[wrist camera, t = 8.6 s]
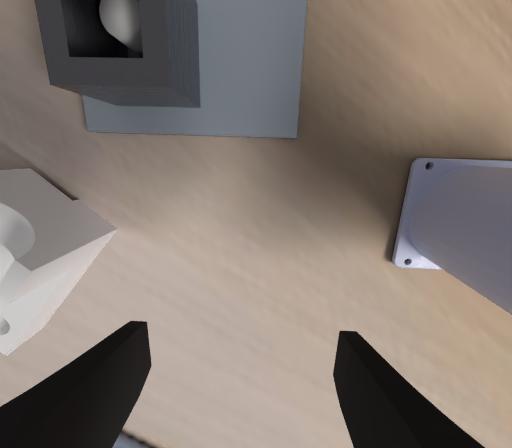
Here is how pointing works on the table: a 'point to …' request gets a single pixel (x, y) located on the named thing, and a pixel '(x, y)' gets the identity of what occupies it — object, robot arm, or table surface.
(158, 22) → the dark grey hollow block
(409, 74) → the table surface
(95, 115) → the plate with peg
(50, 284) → the bracket
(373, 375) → the robot arm
